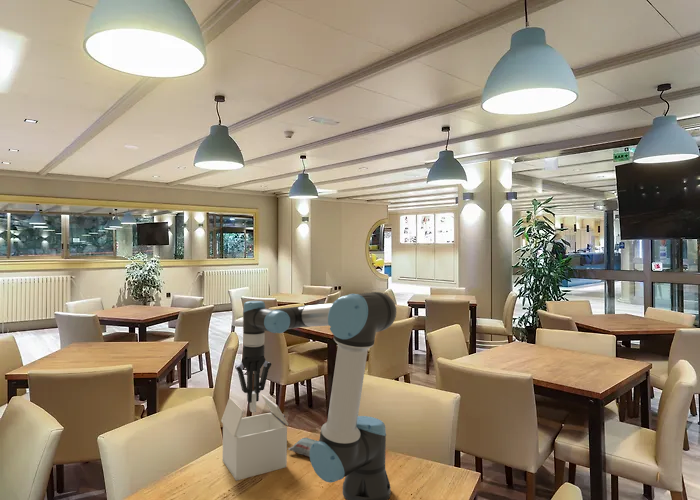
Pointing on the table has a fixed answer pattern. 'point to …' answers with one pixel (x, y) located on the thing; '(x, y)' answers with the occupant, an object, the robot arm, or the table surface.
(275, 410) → the flap right
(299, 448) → the packaged food
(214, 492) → the table surface
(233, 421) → the flap left
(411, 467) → the table surface
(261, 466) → the carton
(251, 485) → the table surface
